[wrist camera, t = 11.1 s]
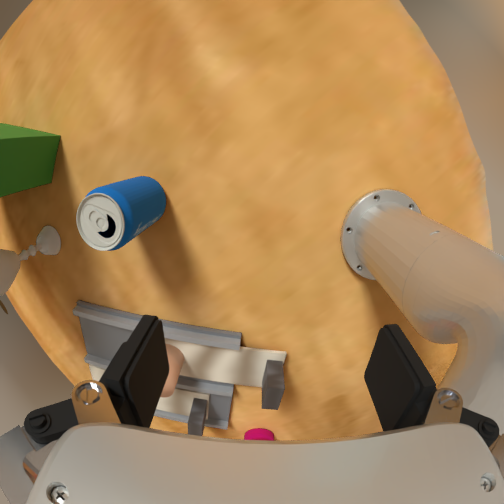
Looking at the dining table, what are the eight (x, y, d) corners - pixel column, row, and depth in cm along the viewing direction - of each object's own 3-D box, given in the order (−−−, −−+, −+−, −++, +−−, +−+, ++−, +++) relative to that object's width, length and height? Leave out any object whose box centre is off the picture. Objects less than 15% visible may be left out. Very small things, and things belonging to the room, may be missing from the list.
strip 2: (286, 351, 41) (289, 381, 35) (276, 386, 44) (277, 415, 38) (134, 327, 41) (118, 352, 35) (138, 363, 44) (125, 388, 37)
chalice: (39, 213, 36) (-42, 250, 19) (67, 227, 36) (-16, 273, 20) (36, 252, 38) (-35, 298, 21) (62, 267, 39) (-8, 323, 22)
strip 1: (209, 392, 45) (203, 420, 39) (208, 417, 48) (203, 443, 42) (90, 363, 45) (75, 385, 39) (97, 389, 47) (85, 410, 41)
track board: (241, 332, 41) (240, 342, 39) (227, 422, 49) (226, 430, 47) (78, 300, 41) (71, 306, 39) (101, 392, 49) (97, 399, 47)
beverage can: (151, 233, 36) (110, 267, 25) (116, 205, 35) (65, 229, 24) (177, 194, 35) (139, 215, 23) (139, 166, 33) (89, 175, 22)
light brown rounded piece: (184, 347, 41) (173, 378, 34) (184, 369, 43) (174, 400, 36) (153, 341, 41) (139, 370, 34) (155, 363, 43) (142, 392, 36)
